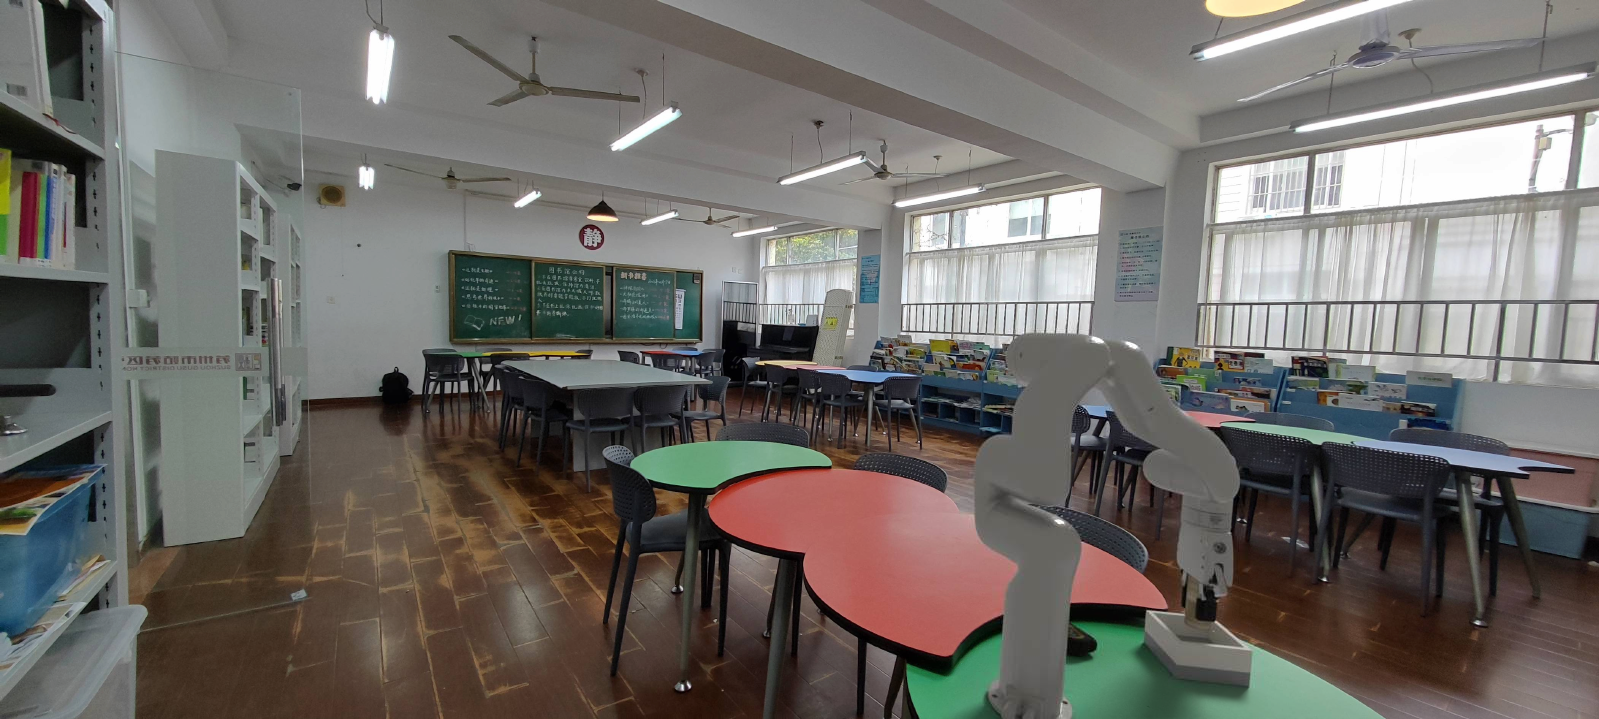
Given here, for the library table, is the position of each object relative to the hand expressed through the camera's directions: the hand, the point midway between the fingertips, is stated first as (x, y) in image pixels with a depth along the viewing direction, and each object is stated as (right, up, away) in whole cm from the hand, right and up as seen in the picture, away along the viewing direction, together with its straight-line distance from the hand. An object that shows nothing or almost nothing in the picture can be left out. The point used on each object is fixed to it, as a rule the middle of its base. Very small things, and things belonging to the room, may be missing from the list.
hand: (1197, 613), depth 106 cm
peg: (0, -2, 0) cm, 2 cm away
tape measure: (-22, -9, +4) cm, 24 cm away
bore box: (-1, -9, 0) cm, 10 cm away
